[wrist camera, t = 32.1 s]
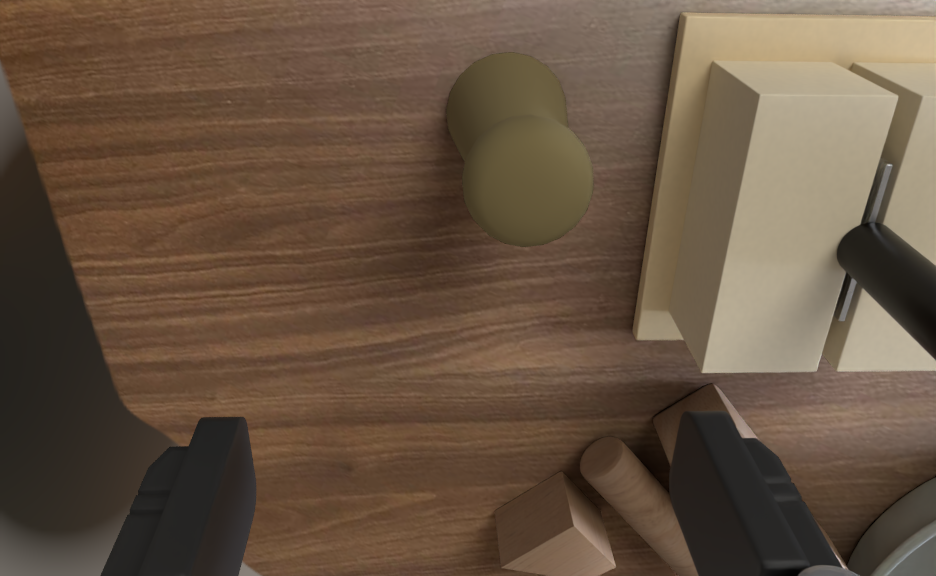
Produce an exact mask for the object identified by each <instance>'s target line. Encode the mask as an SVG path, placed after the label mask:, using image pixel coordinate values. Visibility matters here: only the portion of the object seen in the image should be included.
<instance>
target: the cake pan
mask: <svg viewBox="0 0 936 576" xmlns="http://www.w3.org/2000/svg"><path fill="white" fill-rule="evenodd" d="M847 568H848V569H849V571H852V572H854V573H856V574H858V575H860V576H936V477H935V478H933V479H931V480H929V481H927V482H926V483H924V484H922V485H921V486H919V487H917V488H916V489H914V490H913V491H911V492H910V493H908V494H907V495H905V496H904V497H903V498H901V499H900V500H899V501H897V502H896V503H895V504H894V505H892V506H891V507H890V508H889V509H888V510H887V511H886V512H884V513H883V514H882V515H881V516H880V517H879V518H878V519H877V520H876V521H875V522H874V523H873V524H872V525H871V527H870V528H869V529H868V530H867V531H866V533H865V534H864V535H863V537H862V538H861V539H860V541H859V543H858V544H857V546H856V548H855V550H854V551H853V553H852V555H851V557H850V559H849V562H848V565H847Z"/></svg>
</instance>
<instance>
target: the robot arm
mask: <svg viewBox="0 0 936 576" xmlns="http://www.w3.org/2000/svg"><path fill="white" fill-rule="evenodd" d="M669 491H670V498H671V503H672V506H673V509H674V512H675V515H676V517H677V520H678V522H679V525H680V528H681V530H682V533H683V536H684V538H685V541H686V544H687V546H688V549H689V552H690V554H691V557H692V560H693V562H694V565H695V567H696V570H697V573H698V575H699V576H860V575H858V574H856V573H854V572H852V571H849V570H847V569H844V568H843V567H842V566H841V564H840V562H839V560H838V559H837V557H836V555H835V554H834V552H833V550H832V548H831V547H830V545H829V543H828V542H827V540H826V538H825V536H824V535H823V533H822V531H821V530H820V528H819V526H818V524H817V523H816V521H815V519H814V518H813V516H812V514H811V512H810V511H809V509H808V507H807V505H806V504H805V502H802V500H801V495H800V493H799V492H798V490H797V488H796V487H795V485H794V483H791V478H790V476H789V475H788V473H787V471H786V469H785V468H784V466H783V464H782V463H781V461H780V459H779V457H778V456H776V455H775V454H774V453H773V452H772V451H771V450H769V449H768V448H767V447H766V446H765V445H764V444H763V443H761V442H760V441H759V440H758V439H757V438H742V437H741V435H740V433H739V432H738V430H737V428H736V426H735V424H734V422H733V420H732V419H731V417H730V415H729V414H728V413H727V412H726V411H685V412H684V413H683V414H682V416H681V419H680V423H679V428H678V433H677V438H676V443H675V448H674V453H673V458H672V463H671V468H670V474H669ZM255 505H256V478H255V472H254V465H253V459H252V452H251V446H250V440H249V433H248V427H247V422H246V420H245V418H244V417H203V418H201V419H200V420H199V422H198V424H197V427H196V429H195V432H194V434H193V437H192V439H191V442H190V444H189V446H185V447H169V448H168V449H167V450H166V451H165V452H164V453H163V454H162V455H161V456H160V457H159V458H158V459H157V460H156V461H155V462H154V463H153V464H152V465H151V466H150V467H149V468H148V470H147V472H146V475H145V477H144V479H143V481H142V484H141V486H140V488H139V490H138V495H136V497H135V499H134V502H133V504H132V506H131V509H130V514H129V515H127V517H126V520H125V522H124V524H123V526H122V529H121V531H120V533H119V535H118V538H117V540H116V542H115V544H114V547H113V549H112V551H111V553H110V556H109V558H108V560H107V562H106V565H105V567H104V569H103V571H102V573H101V576H238V575H239V571H240V567H241V563H242V559H243V556H244V552H245V548H246V544H247V540H248V536H249V532H250V528H251V524H252V520H253V516H254V512H255Z"/></svg>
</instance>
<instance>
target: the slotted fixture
mask: <svg viewBox="0 0 936 576" xmlns="http://www.w3.org/2000/svg"><path fill="white" fill-rule="evenodd" d="M880 157H882V158H883V159H885V160H886V161H888V162H889V163H891V164H892V165H893V166H892V169H891V173H890V176H889V179H888V182H887V186H886V189H885V192H884V195H883V199H882V202H881V205H880V208H879V211H878V215H877V218H876V221H875V223H881V224H884V225H886V226H887V227H888V228H890V229H891V230H892V231H893V232H895V233H896V234H897V235H898V236H900V237H901V238H902V239H903V240H904V241H906V242H907V243H908V244H909V245H911V246H912V247H913V248H914V249H916V250H917V251H918V252H919V253H921V254H922V255H923V256H924V257H926V258H927V259H928V260H929V261H931V262H932V263H933V264H934V265H936V16H873V15H808V14H743V13H681V14H680V19H679V26H678V33H677V39H676V46H675V52H674V59H673V66H672V72H671V79H670V85H669V92H668V99H667V105H666V112H665V119H664V125H663V132H662V138H661V145H660V152H659V158H658V165H657V171H656V178H655V185H654V191H653V198H652V205H651V211H650V218H649V224H648V231H647V238H646V244H645V251H644V257H643V264H642V271H641V277H640V284H639V291H638V297H637V304H636V310H635V317H634V324H633V330H632V332H633V334H634V336H635V339H636V340H684V341H685V343H686V345H687V347H688V349H689V350H690V352H691V354H692V356H693V358H694V360H695V362H696V364H697V366H698V367H699V369H700V371H701V373H761V372H816V371H817V367H818V364H819V361H820V357H821V354H822V355H823V356H824V357H825V358H826V360H827V361H828V362H829V363H830V365H831V366H832V367H833V368H834V370H835V371H836V372H856V371H936V360H935V359H934V358H933V357H932V356H931V355H930V354H929V353H928V352H927V351H926V350H925V349H924V348H923V347H922V346H921V345H920V344H919V343H918V342H917V341H916V340H915V339H914V338H913V337H912V336H910V335H909V334H908V333H907V332H906V331H905V330H904V329H903V328H902V327H901V326H900V325H899V324H898V323H897V322H896V321H895V320H894V319H893V318H892V317H891V316H890V315H889V314H888V313H887V312H886V311H885V310H884V309H883V308H882V307H881V306H880V305H879V304H878V303H877V302H876V301H875V300H874V299H873V298H872V297H871V296H870V295H869V294H868V293H867V292H866V291H865V290H864V289H863V288H862V287H861V286H860V285H859V284H858V283H856V286H855V289H854V292H853V296H852V299H851V302H850V305H849V308H848V312H847V315H846V318H845V321H838V320H837V319H836V318H835V316H834V315H833V314H834V311H835V307H836V304H837V301H838V297H839V294H840V291H841V287H842V284H843V280H844V277H845V274H846V271H845V270H844V269H843V268H842V267H841V266H840V264H839V263H838V260H837V249H838V246H839V243H840V241H841V240H842V238H843V237H844V236H845V235H846V234H847V233H848V232H849V231H850V230H852V229H853V228H855V227H857V226H859V225H860V224H861V220H862V217H863V214H864V210H865V207H866V204H867V200H868V197H869V194H870V190H871V187H872V184H873V180H874V177H875V174H876V170H877V167H878V164H879V160H880Z"/></svg>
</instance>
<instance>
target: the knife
mask: <svg viewBox="0 0 936 576" xmlns="http://www.w3.org/2000/svg"><path fill="white" fill-rule="evenodd" d="M892 166H893V165H892V164H891V163H889V162H888V161H886V160H885V159H883V158H882V157H880V160H879V164H878V167H877V170H876V174H875V177H874V180H873V184H872V187H871V190H870V194H869V197H868V200H867V204H866V207H865V210H864V214H863V217H862V220H861V224H860V225H859V226H857V227H855V228H853V229H852V230H850V231H849V232H848V233H847V234H846V235H845V236H844V237H843V238H842V240H841V241H840V243H839V246H838V249H837V260H838V263H839V264H840V266H841V267H842V268H843V269H844V270H845V271H846V274H845V277H844V280H843V284H842V287H841V291H840V294H839V297H838V301H837V304H836V307H835V311H834V314H833V315H834V316H835V318H836V319H837V320H838V321H845V318H846V315H847V312H848V308H849V305H850V302H851V299H852V296H853V292H854V289H855V286H856V283H858V284H859V285H860V286H861V287H862V288H863V289H864V290H865V291H866V292H867V293H868V294H869V295H870V296H871V297H872V298H873V299H874V300H875V301H876V302H877V303H878V304H879V305H880V306H881V307H882V308H883V309H884V310H885V311H886V312H887V313H888V314H889V315H890V316H891V317H892V318H893V319H894V320H895V321H896V322H897V323H898V324H899V325H900V326H901V327H902V328H903V329H904V330H905V331H906V332H907V333H908V334H909V335H910V336H912V337H913V338H914V339H915V340H916V341H917V342H918V343H919V344H920V345H921V346H922V347H923V348H924V349H925V350H926V351H927V352H928V353H929V354H930V355H931V356H932V357H933V358H934V359H935V360H936V265H934V264H933V263H932V262H931V261H929V260H928V259H927V258H926V257H924V256H923V255H922V254H921V253H919V252H918V251H917V250H916V249H914V248H913V247H912V246H911V245H909V244H908V243H907V242H906V241H904V240H903V239H902V238H901V237H900V236H898V235H897V234H896V233H895V232H893V231H892V230H891V229H890V228H888V227H887V226H886V225H884V224H881V223H875V221H876V218H877V215H878V211H879V208H880V205H881V202H882V199H883V195H884V192H885V189H886V186H887V182H888V179H889V176H890V173H891V169H892Z"/></svg>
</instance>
